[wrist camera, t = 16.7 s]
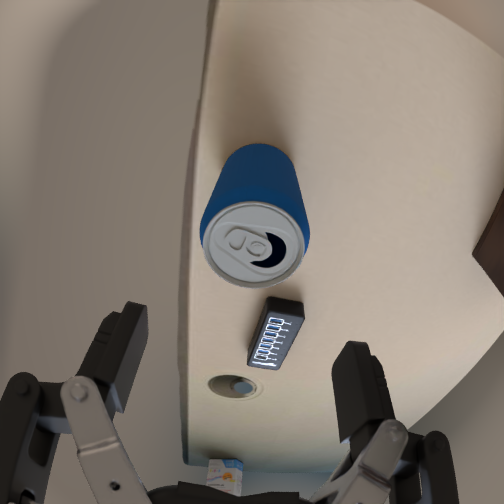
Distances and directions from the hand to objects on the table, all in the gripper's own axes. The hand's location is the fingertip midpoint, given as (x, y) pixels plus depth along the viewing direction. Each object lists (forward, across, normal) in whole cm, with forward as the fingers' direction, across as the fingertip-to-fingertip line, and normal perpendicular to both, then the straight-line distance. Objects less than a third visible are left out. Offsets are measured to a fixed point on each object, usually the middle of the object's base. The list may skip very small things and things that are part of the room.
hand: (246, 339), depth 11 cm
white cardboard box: (+19, -8, +79) cm, 82 cm away
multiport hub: (+19, -6, +19) cm, 27 cm away
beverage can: (+19, 0, 0) cm, 19 cm away
